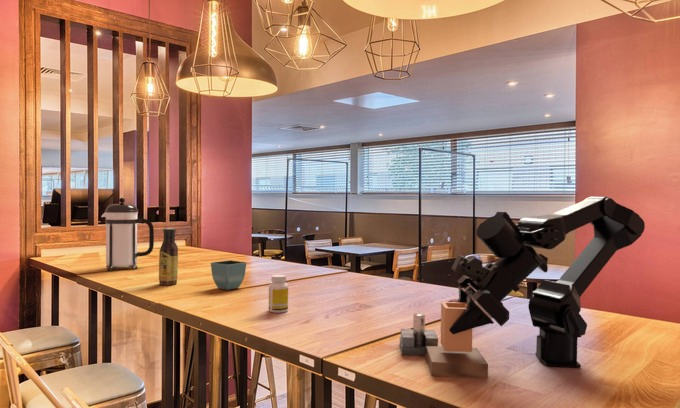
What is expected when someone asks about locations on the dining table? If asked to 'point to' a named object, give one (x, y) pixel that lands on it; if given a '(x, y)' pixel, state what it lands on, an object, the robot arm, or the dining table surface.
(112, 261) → the coffee press
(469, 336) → the sleeve
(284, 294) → the supplement bottle
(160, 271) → the sauce bottle
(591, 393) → the dining table surface
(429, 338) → the vise
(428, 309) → the dining table surface
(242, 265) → the flower pot
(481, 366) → the walnut block
